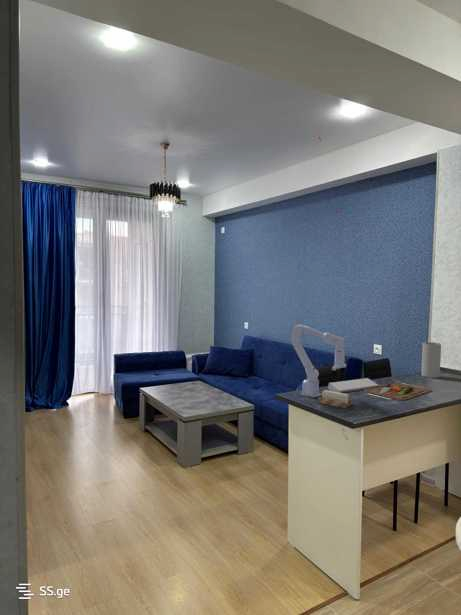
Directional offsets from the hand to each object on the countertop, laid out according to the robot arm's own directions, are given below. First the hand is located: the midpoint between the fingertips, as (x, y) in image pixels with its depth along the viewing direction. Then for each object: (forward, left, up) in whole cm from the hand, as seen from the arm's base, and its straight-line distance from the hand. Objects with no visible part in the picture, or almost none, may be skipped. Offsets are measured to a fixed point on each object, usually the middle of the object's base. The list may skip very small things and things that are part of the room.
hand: (339, 380), depth 244 cm
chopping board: (+21, +41, -11) cm, 47 cm away
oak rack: (+4, -13, -10) cm, 17 cm away
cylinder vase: (+24, +104, -11) cm, 107 cm away
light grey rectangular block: (+4, -13, -9) cm, 16 cm away
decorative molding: (-3, +28, -11) cm, 30 cm away
